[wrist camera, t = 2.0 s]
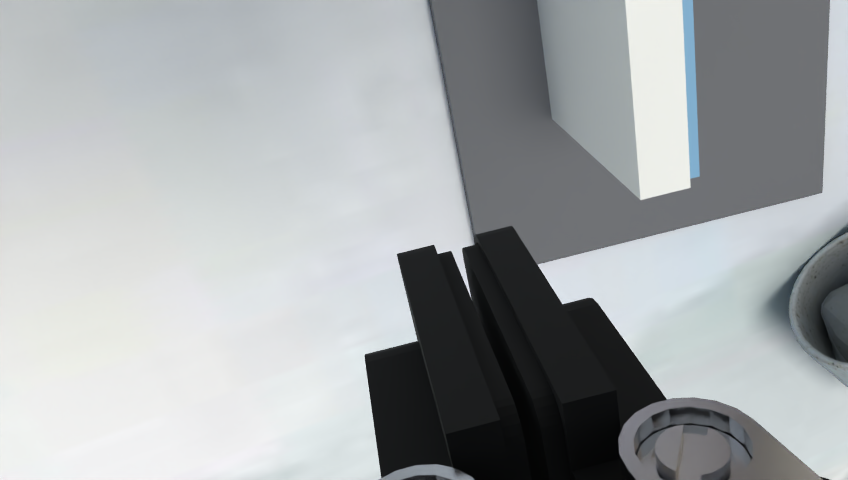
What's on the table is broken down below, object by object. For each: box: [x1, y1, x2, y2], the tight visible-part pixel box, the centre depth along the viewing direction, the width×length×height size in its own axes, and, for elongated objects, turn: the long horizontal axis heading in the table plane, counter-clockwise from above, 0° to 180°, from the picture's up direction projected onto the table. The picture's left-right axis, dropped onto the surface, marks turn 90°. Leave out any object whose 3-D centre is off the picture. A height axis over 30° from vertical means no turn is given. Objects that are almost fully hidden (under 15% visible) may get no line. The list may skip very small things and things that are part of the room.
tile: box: [537, 0, 700, 200], centre depth 25 cm, size 9×2×9 cm, turn 11°
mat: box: [429, 0, 830, 264], centre depth 31 cm, size 16×16×1 cm
